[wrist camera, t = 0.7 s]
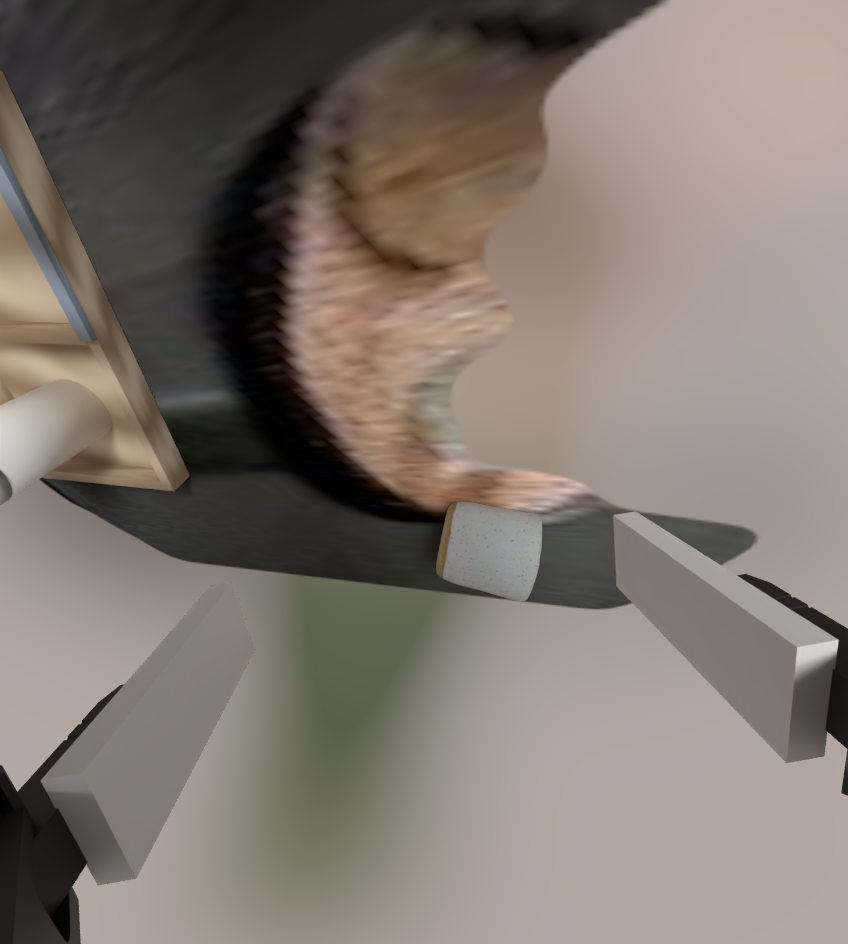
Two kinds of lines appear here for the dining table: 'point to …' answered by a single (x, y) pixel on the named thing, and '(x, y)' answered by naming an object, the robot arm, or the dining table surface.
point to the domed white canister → (47, 431)
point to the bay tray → (69, 322)
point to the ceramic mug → (490, 549)
